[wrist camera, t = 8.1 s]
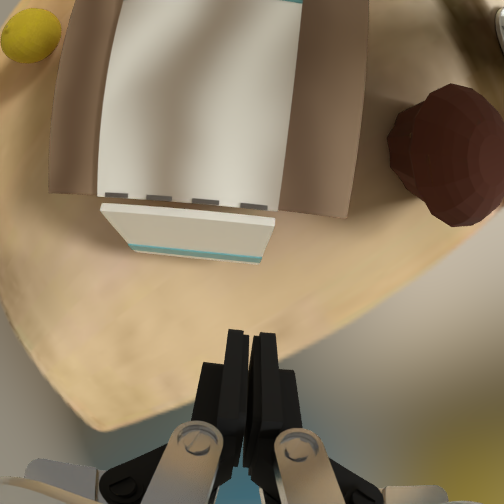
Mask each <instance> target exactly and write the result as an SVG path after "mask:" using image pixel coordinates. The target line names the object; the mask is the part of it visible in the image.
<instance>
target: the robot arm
mask: <svg viewBox="0 0 504 504" xmlns="http://www.w3.org/2000/svg"><path fill="white" fill-rule="evenodd" d="M495 23H496V31H497V35H498V39H499V42H500V45H501V48H502V50H503V53H504V7H503V8H501V9H499V10H498V11H497V14H496V20H495ZM243 333H244V331H242V330H233V329H229V330H228V337H227V345H226V352H225V360H224V364H216V363H207V362H203V365H202V370H201V374H200V379H199V384H198V389H197V394H196V399H195V404H194V409H193V413H192V418H191V421H188V422H186V423H182V424H181V425H179V426H178V427H177V428H176V429H175V430H174V432H173V433H172V435H171V438H170V440H169V442H168V443H167V444H165V445H163V446H161V447H159V448H157V449H155V450H153V451H151V452H148V453H146V454H144V455H142V456H140V457H137V458H135V459H133V460H130V461H128V462H126V463H123V464H121V465H118V466H116V467H114V468H111V469H109V470H108V471H103V470H98V469H97V468H96V467H89V466H80V465H75V464H69V463H63V462H58V461H53V460H48V459H39V458H38V459H35V460H33V461H31V462H30V463H29V464H28V466H27V468H26V471H25V476H24V478H20V477H11V476H2V477H0V504H215V501H216V497H217V494H218V490H219V486H220V485H222V484H223V483H225V482H226V481H228V480H229V479H231V475H232V469H233V466H234V467H238V463H239V458H240V452H241V447H242V442H243V436H244V444H243V467H247V468H249V472H248V475H251V480H252V481H253V482H255V483H256V484H257V485H258V486H259V492H260V497H261V502H262V504H481V503H477V502H472V501H453V502H448V496H447V493H446V492H445V491H444V489H443V488H441V487H439V486H436V485H426V486H386V487H385V488H377V487H376V486H374V485H373V484H371V483H369V482H368V481H366V480H364V479H363V478H361V477H359V476H358V475H356V474H354V473H353V472H351V471H349V470H348V469H346V468H344V467H343V466H341V465H340V464H338V463H336V462H335V461H333V460H332V459H330V458H329V457H328V455H327V453H326V450H325V447H324V445H323V442H322V441H321V439H320V438H319V437H318V436H317V435H316V434H315V433H313V432H311V431H309V430H307V429H303V428H302V421H301V414H300V406H299V400H298V392H297V385H296V378H295V373H294V371H293V370H282V369H279V366H278V355H277V344H276V334H275V333H263V332H260V334H259V336H254V337H253V344H252V350H251V357H250V364H249V371H248V358H249V335H243Z"/></svg>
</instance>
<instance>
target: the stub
mask: <svg viewBox="0 0 504 504" xmlns="http://www.w3.org/2000/svg"><path fill="white" fill-rule="evenodd" d="M100 211H101V213H102V214H103V215H104V216H105V217H106V219H107V220H108V221H109V222H110V223H111V224H112V226H113V227H114V228H115V229H116V230H117V232H118V233H119V234H120V235H121V236H122V237H123V238H124V240H125V241H126V242H127V243H128V246H129V247H130V248H131V249H132V250H134V251H135V252H139V253H148V254H158V255H167V256H176V257H186V258H196V259H205V260H215V261H225V262H235V263H245V264H255V265H259V263H260V262H261V259H262V256H263V254H264V251H265V249H266V246H267V244H268V242H269V239H270V237H271V234H272V232H273V229H274V227H275V218H271V217H262V216H253V215H243V214H233V213H223V212H213V211H202V210H191V209H180V208H168V207H155V206H142V205H127V204H112V203H102V205H101V208H100Z"/></svg>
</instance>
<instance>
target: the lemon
mask: <svg viewBox="0 0 504 504" xmlns="http://www.w3.org/2000/svg"><path fill="white" fill-rule="evenodd" d="M60 38H61V24H60V22H59V20H58V19H57V17H56V16H55V15H54V14H52V13H51V12H49V11H47V10H44V9H37V8H30V9H26V10H23V11H21V12H19V13H17V14H16V15H15V16H13V17H12V18H11V19H10V20H9V21H8V23H7V24H6V25H5V27H4V29H3V32H2V35H1V47H2V50H3V52H4V53H5V54H6V56H8V57H9V58H10V59H12V60H14V61H16V62H19V63H34V62H38V61H40V60H42V59H44V58H46V57H47V56H48V55H50V54H51V53H52V52H53V51H54V50H55V48H56V47H57V45H58V43H59V41H60Z"/></svg>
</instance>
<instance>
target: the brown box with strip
mask: <svg viewBox="0 0 504 504" xmlns="http://www.w3.org/2000/svg"><path fill="white" fill-rule="evenodd" d="M368 26H369V0H76V1H75V4H74V7H73V10H72V14H71V17H70V21H69V24H68V28H67V32H66V36H65V40H64V44H63V49H62V53H61V58H60V63H59V68H58V74H57V80H56V86H55V93H54V101H53V109H52V118H51V130H50V145H49V193H61V194H87V195H97V197H113V198H129V199H145V200H159V201H172V202H184V203H196V204H207V205H217V206H228V207H238V208H247V209H257V210H266V211H275V212H278V210H282V211H290V212H298V213H306V214H314V215H322V216H329V217H336V218H343V219H347V214H348V209H349V203H350V197H351V191H352V185H353V179H354V173H355V166H356V159H357V152H358V145H359V137H360V129H361V121H362V112H363V102H364V92H365V80H366V66H367V50H368Z"/></svg>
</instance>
